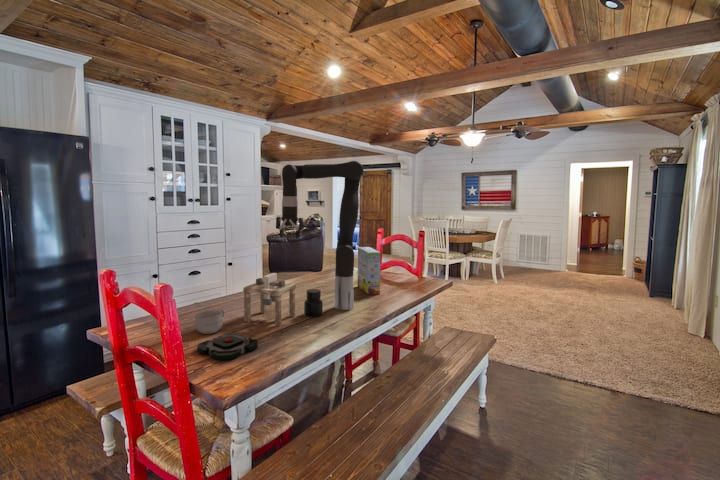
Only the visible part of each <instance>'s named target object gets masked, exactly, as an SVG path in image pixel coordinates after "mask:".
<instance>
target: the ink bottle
mask: <svg viewBox="0 0 720 480" xmlns="http://www.w3.org/2000/svg"><path fill="white" fill-rule="evenodd" d="M321 292H322V291H321V289H317V288H310V289H307V290H306V299H305V300H304V302H303V315H304V316H306V317H309V318H319V317H321V316H322V315H323V311H324V310H323V305H324V304H323V300H321Z"/></svg>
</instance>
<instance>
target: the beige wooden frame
mask: <svg viewBox="0 0 720 480" xmlns="http://www.w3.org/2000/svg"><path fill="white" fill-rule="evenodd" d="M271 286H276V288H274V289H271V288H270V289H265V288H264V282H263V278H262V277H258V278H256V279H255V282H254V283H251V284H249V285H246V286H244V287H242V288H243V289H242V291H243V300H244V301H243V307H244V308H243V309H244V310H243V312H244V314H243V317H244V319H243V320H244V322H245V323H250V322H251V321H252V319H251V318H252V316H251V314H252V313H251V312H252V311H251V309H252V306H251V304H252V303H251V299H252V298H251V294H259V295H260V297H259V298H260V303H259V305H260V307H259V308H260V310H259V311H260V314H266V313H267V305H262V299H263V298H264V294H267V295H275V302H274V326H275V327H281V326H282V295H284V294H287V292H289V302H288V303H289V308H288V312H289V315H288V316H289V317H290V318H294V317H296V287H297V283H294V282H286V281H285V279H284V280H283V279H280V280H279V281H277V280H276V282H271V283H270V287H271Z"/></svg>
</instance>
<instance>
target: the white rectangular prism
mask: <svg viewBox="0 0 720 480" xmlns="http://www.w3.org/2000/svg"><path fill="white" fill-rule="evenodd" d="M277 280H278V273H277V272H271V273H269V274H266V275H263V282H264V288H265V289H274V288H277V287H276V286H270V283H271V282H276V281H277ZM272 303H275V295H267V294H264V298H263V299H262V305H266V306H271V305H272Z"/></svg>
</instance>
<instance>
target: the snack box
mask: <svg viewBox="0 0 720 480" xmlns="http://www.w3.org/2000/svg"><path fill="white" fill-rule="evenodd" d="M381 253H382V252H381V251H379V250H377V249H374V248H373V247H371V246H358V247H357V287H358V288H359V289H360V290H362V291H363V292H364V293H365V294H366V293H367V294H374V295H380V294H381V263H382V261H381V258H382V257H381V255H382V254H381ZM367 294H366V295H367Z"/></svg>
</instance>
